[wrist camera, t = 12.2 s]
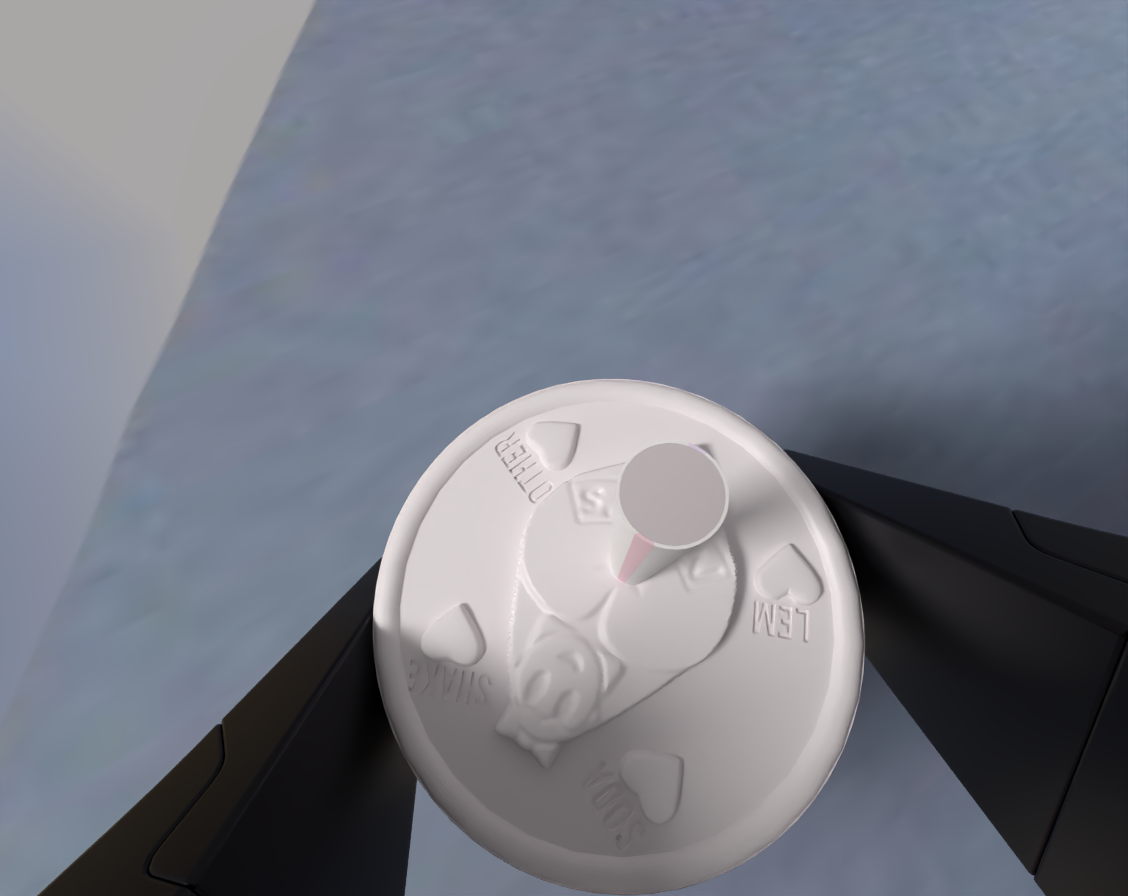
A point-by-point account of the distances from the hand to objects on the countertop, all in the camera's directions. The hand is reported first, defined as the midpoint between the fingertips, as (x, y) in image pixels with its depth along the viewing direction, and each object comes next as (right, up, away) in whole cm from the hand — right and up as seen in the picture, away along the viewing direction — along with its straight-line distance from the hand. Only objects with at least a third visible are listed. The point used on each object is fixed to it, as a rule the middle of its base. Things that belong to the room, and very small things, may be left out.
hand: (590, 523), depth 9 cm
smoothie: (+1, -4, +7) cm, 8 cm away
